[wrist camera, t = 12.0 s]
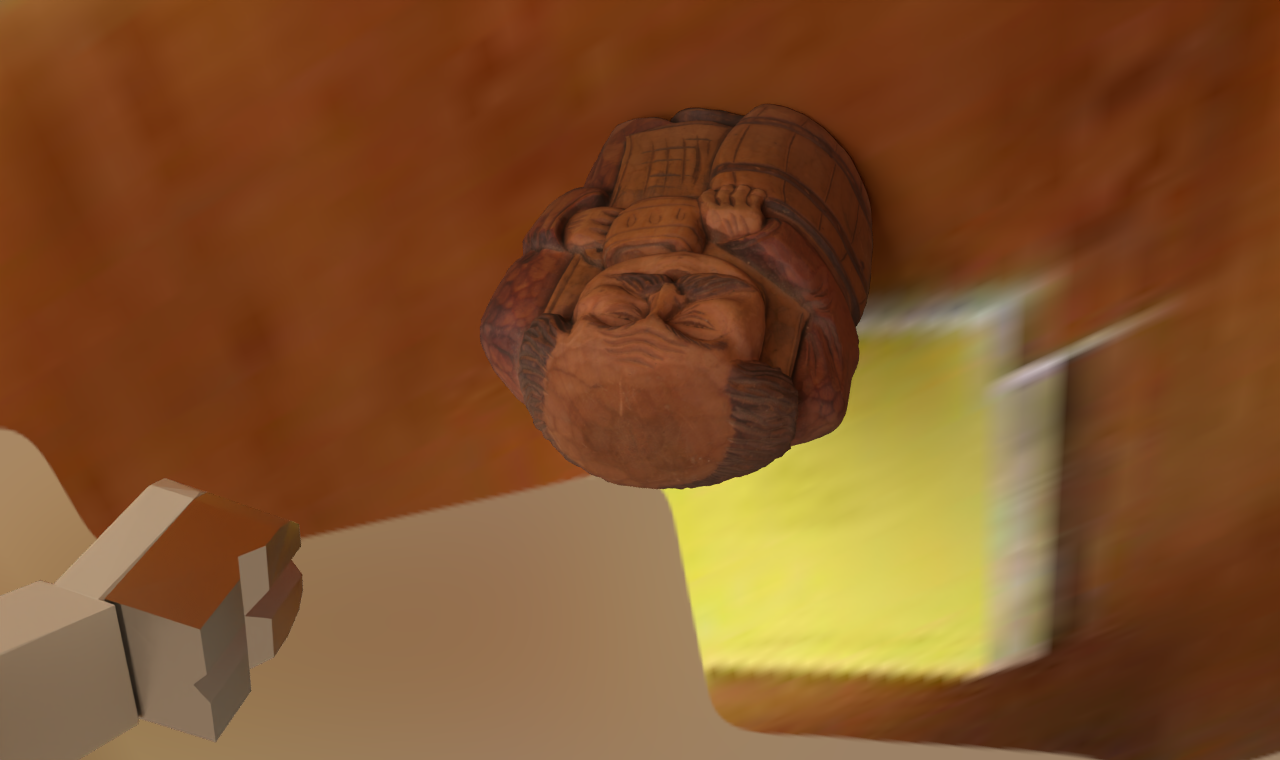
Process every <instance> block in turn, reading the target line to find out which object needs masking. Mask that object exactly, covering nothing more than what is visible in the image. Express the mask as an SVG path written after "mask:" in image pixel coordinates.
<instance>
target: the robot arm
mask: <svg viewBox="0 0 1280 760" xmlns="http://www.w3.org/2000/svg"><path fill="white" fill-rule="evenodd" d="M300 547H301V540H300V529H299V524H297V523H295V522H292V521H289V520H287V519H284V518H281V517H278V516H275V515H272V514H269V513H266V512H263V511H261V510H258V509H255V508H252V507H249V506H246V505H243V504H240V503H238V502H235V501H232V500H229V499H226V498H223V497H220V496H217V495H214V494H212V493H209V492H205V491H202V490H199V489H196V488H193V487H190V486H187V485H184V484H181V483H178V482H175V481H172V480H169V479H166V478H164V479H162V480H160V481H158V482H156V483H154V484H152V485H150V486H149V487H147V488H146V489H145V490H144V491H143V492H142V493H141V494H140V495H139V497H138V498H137V499H136V500H135V501H134V502H133V503H132V504H131V505H130V506H129V507H128V508H127V509H126V510H125V511H124V512H123V513H122V514H121V515H120V516H119V517H118V518H117V519H116V520H115V521H114V522H113V523H112V524H111V525H110V526H109V527H108V528H107V529H106V530H105V531H104V532H103V533H102V535H101V536H100V537H99V538H98V539H97V540H96V541H95V542H94V543H93V544H92V545H91V546H90V547H89V548H88V549H87V550H86V551H85V552H84V553H83V554H82V555H81V556H80V557H79V558H78V559H77V560H76V561H75V562H74V563H73V564H72V565H71V566H70V567H69V569H67V570H66V572H64V574H63V575H62V576H61V577H60V578H59V579H58V580H57V581H56V582H55V583H54V584H52V583H49V582H45V581H42V580H39V581H37V582H35V583H31V584H29V585H26V586H24V587H21V588H19V589H16V590H13V591H11V592H9V593H6V594H3V595H1V596H0V760H80V759H81V758H83V757H85V756H86V755H88V754H90V753H91V752H93V751H95V750H96V749H98V748H100V747H101V746H103V745H105V744H106V743H108V742H109V741H111V740H113V739H115V738H116V737H118V736H120V735H121V734H123V733H125V732H126V731H128V730H130V729H131V728H133V727H135V726H136V725H138V724H139V719H143V720H145V721H149V722H152V723H155V724H159V725H162V726H165V727H168V728H171V729H174V730H178V731H181V732H184V733H187V734H191V735H194V736H197V737H201V738H203V739H207V740H210V741H213V742H216V741H217V740H218V738H219V737H220V735H221V734H222V733H223V731H224V730H225V728H226V727H227V725H228V724H229V722H230V721H231V720H232V718H233V717H234V715H235V714H236V712H237V711H238V709H239V708H240V706H241V705H242V704H243V702H244V700H245V699H246V698H247V696H248V695H249V693H250V692H251V683H250V670H249V669H251V668H253V667H255V666H257V665H259V664H262V663H264V662H266V661H268V660H270V659H272V658H274V656H275V655H276V654H277V652H278V651H279V649H280V647H281V646H282V644H283V643H284V641H285V640H286V638H287V637H288V635H289V633H290V630H291V628H292V626H293V623H294V621H295V618H296V616H297V613H298V611H299V608H300V603H301V597H302V591H303V582H302V581H303V580H302V574H301V572H300V571H299V569H298V568H297V567H296V565H295V564H294V563H293V561H292V560H291V559H292V558H293V557H294V555H295V554H296V552H297V551H298V550H299V548H300Z"/></svg>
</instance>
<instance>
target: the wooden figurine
mask: <svg viewBox="0 0 1280 760" xmlns="http://www.w3.org/2000/svg"><path fill="white" fill-rule="evenodd" d="M872 236H873V233H872V218H871V207H870V202H869V198H868V195H867V192H866V189H865V187H864V184H863V182H862V180H861V178H860V176H859V174H858V172H857V170H856V168H855V166H854V164H853V162H852V160H851V158H850V156H849V155H848V154H847V152H846V151H845V150H844V148H842V147H841V146H840V145H839V144H838V143H837V142H836V140H835V139H834V138H833V137H832V136H831V135H830V134H829V133H828V132H827V131H826V130H825V129H824V128H823V127H821V126H820V125H819V124H817V123H816V122H814V121H813V120H812V119H810V118H809V117H807V116H805V115H804V114H801V113H798V112H796V111H794V110H792V109H790V108H787V107H784V106H779V105H773V104H762V105H760V106H758V107H755V108H754V109H753V110H751V111H750V112H749V113H748V114H746V115H745V116H741V115H736V114H732V113H729V112H726V111H722V110H708V109H703V108H687V109H684V110H682V111H679V112H678V113H677V114H676V115H675V116H674V117H673V118H672V119H671V121H668V120H665V119H662V118H657V117H652V118H638V119H633V120H629V121H627V122H624V123H622V124H618V125H617V126H616V128H615V129H614V130H613V131H612V133H611V134H610V136H609V138H608V140H607V141H606V143H605V144H604V146H603V148H602V150H601V153H600V154H599V156H598V159H597V160H596V162H595V163H594V165H593V167H592V169H591V171H590V173H589V175H588V177H587V180H586V183H585V185H584V187H581V188H576V189H573V190H571V191H569V192H567V193H565V194H564V195H562V196H560V197H559V198H557V199H556V200H555V201H553V202H552V203H551V204H550V205H549V206H548V207H547V208H546V210H545V211H544V212H543V213H542V215H541V216H540V217H539V218H538V220H537V221H536V222H535V224H534V225H533V226H532V228H531V229H530V230H529V232H528V233H527V234H526V236H525V238H524V240H523V256H522V257H521V258H520V259H518V260H517V261H515V263H514V264H513V265H512V266H511V267H510V268H509V269H508V271H507V273H506V274H505V276H504V278H503V279H502V281H501V282H500V284H499V286H498V287H497V289H496V291H495V293H494V294H493V296H492V298H491V300H490V302H489V304H488V306H487V308H486V311H485V313H484V315H483V317H482V319H481V326H480V340H481V344H482V347H483V349H484V351H485V353H486V356H487V358H488V360H489V362H490V364H491V366H492V368H493V370H494V371H495V372H496V374H497V375H498V376H499V377H500V379H501V380H502V381H503V382H504V384H505V385H506V386H507V387H508V388H509V389H510V390H511V392H512V393H513V394H514V395H515V396H516V398H517V399H518V400H520V401H521V402H522V403H524V404H525V405H526V407H527V409H528V411H529V412H530V414H531V416H532V418H533V423H534V425H535V427H536V428H537V429H539V430H540V431H542V433H543V436H544V438H545V439H547V440H550V442H551V444H552V445H553V446H554V447H555V448H556V449H557V450H558V451H559V452H560V453H561V454H562V455H563V456H564V458H565V459H566V460H568V461H569V462H571V463H573V464H574V465H576V466H578V467H581V468H583V469H584V470H585V471H587V472H588V473H589V474H591V475H594V476H597V477H601V478H602V479H604V480H605V481H607V482H611V483H614V484H617V485H623V486H633V487H639V488H652V489H666V488H676V489H684V488H696V487H700V486H711V485H714V484H720V483H722V482H723V481H726V480H729V479H732V478H734V477H741V476H744V475H748V474H750V473H753V472H755V471H758V470H759V469H761V468H762V467H766V466H767V465H768V464H770V463H771V462H773V461H774V459H776V458H779V457H782V456H783V455H784V454H785V452H787V451H788V450H790V449H791V446H794V445H798V444H802V443H806V442H809V441H812V440H814V439H817V438H820V437H822V436H824V435H827V434H829V433H831V432H832V431H834V430H835V429H836V428H837V427H838V426H839V425H840V424H841V422H842V420H843V418H844V416H845V414H846V410H847V405H848V399H849V393H850V387H851V380H852V377H853V374H854V372H855V370H856V368H857V365H858V361H859V347H858V344H859V339H858V335H857V331H856V326H857V324H858V323H859V322H860V319H861V317H862V314H863V311H864V308H865V306H866V303H867V297H868V294H869V287H870V279H871V263H872V253H873V237H872Z"/></svg>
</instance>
